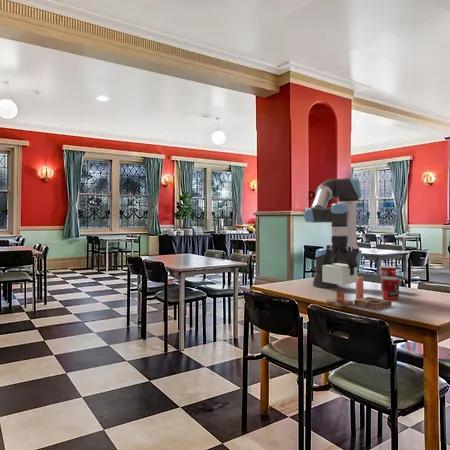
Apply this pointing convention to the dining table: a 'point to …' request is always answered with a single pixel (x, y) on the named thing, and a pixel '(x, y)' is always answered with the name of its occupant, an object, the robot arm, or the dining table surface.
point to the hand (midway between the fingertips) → (339, 280)
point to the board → (334, 302)
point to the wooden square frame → (373, 303)
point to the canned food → (390, 288)
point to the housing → (337, 274)
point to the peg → (359, 288)
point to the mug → (387, 272)
